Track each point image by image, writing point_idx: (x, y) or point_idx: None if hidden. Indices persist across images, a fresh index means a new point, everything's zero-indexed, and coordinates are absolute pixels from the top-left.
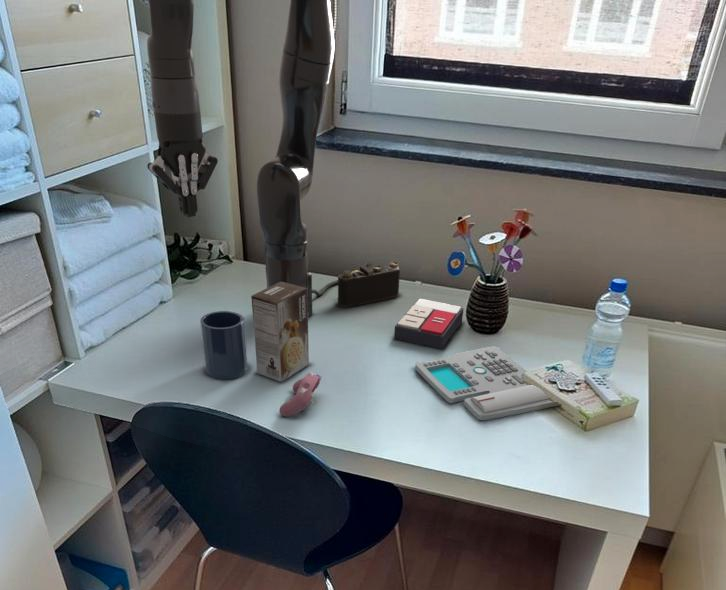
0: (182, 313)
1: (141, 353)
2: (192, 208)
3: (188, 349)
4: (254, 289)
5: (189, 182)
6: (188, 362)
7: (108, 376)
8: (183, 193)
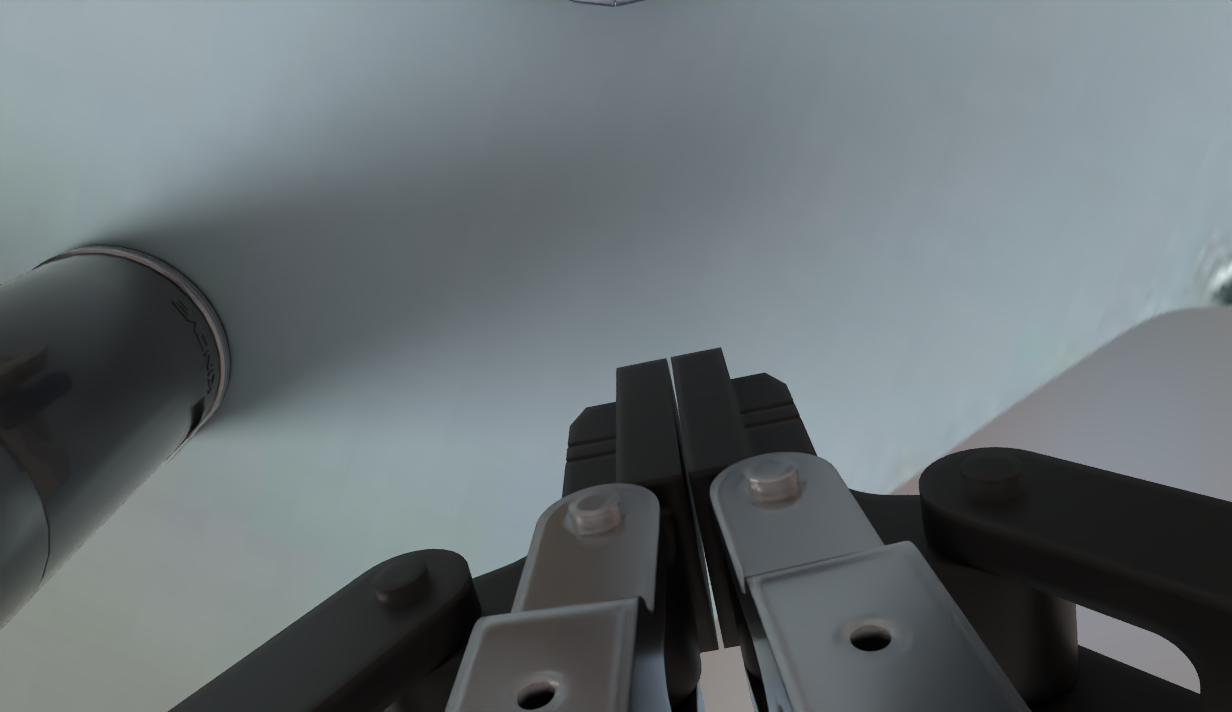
0: None
1: (918, 253)
2: (657, 393)
3: (707, 199)
4: (212, 672)
5: (662, 642)
6: (756, 62)
7: (1140, 89)
8: (821, 465)
